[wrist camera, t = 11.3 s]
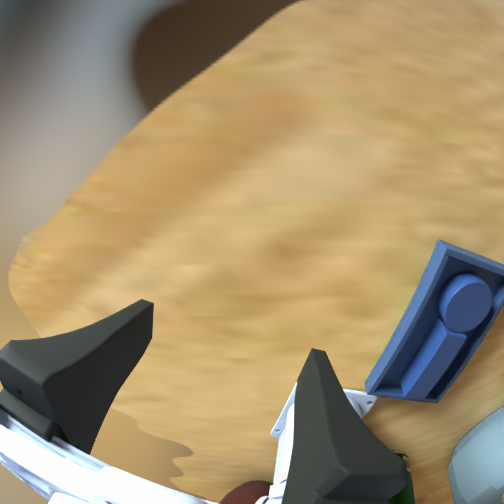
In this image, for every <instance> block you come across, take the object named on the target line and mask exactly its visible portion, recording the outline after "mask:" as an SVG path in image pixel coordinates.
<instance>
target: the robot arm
mask: <svg viewBox="0 0 504 504" xmlns="http://www.w3.org/2000/svg"><path fill="white" fill-rule="evenodd" d="M153 308H154V303H152V302H149V301H146V300H143V299H141V300H139V301H137V302H135V303H133V304H132V305H130V306H128V307H126V308H124V309H122V310H120V311H119V312H117V313H115V314H113V315H111V316H109V317H107V318H105V319H102V320H100V321H98V322H96V323H94V324H91V325H89V326H86V327H84V328H81V329H78V330H75V331H72V332H68V333H64V334H60V335H56V336H52V337H46V338H39V339H31V340H11V341H10V342H9V343H7V344H6V345H5V346H4V347H3V348H2V349H1V350H0V381H1V384H2V386H3V389H2V391H1V392H0V464H2V465H3V466H4V467H5V468H6V469H8V470H9V471H10V472H11V473H12V474H14V475H15V476H16V477H18V478H19V479H20V480H21V481H23V482H24V483H25V484H27V485H28V486H29V487H30V488H32V489H33V490H35V491H36V492H37V493H39V494H40V495H42V496H43V497H44V498H46V499H47V500H49V503H48V504H218V503H214V502H210V501H207V500H203V499H199V498H196V497H194V496H191V495H189V494H185V493H182V492H179V491H176V490H173V489H170V488H167V487H164V486H161V485H158V484H156V483H153V482H150V481H148V480H145V479H143V478H140V477H138V476H135V475H133V474H130V473H128V472H126V471H123V470H120V469H117V468H115V467H112V466H110V465H108V464H106V463H104V462H102V461H100V460H98V459H96V458H94V457H92V456H90V453H91V450H92V447H93V444H94V442H95V439H96V437H97V434H98V432H99V430H100V427H101V425H102V422H103V420H104V418H105V416H106V414H107V412H108V410H109V408H110V406H111V404H112V402H113V400H114V398H115V396H116V394H117V393H118V391H119V389H120V388H121V386H122V385H123V383H124V382H125V380H126V379H127V378H128V376H129V375H130V373H131V372H132V370H133V369H134V367H135V366H136V365H137V363H138V362H139V360H140V359H141V357H142V356H143V354H144V352H145V350H146V349H147V347H148V345H149V343H150V341H151V339H152V329H153ZM377 399H378V398H377V396H372V395H367V393H366V392H361V391H355V390H350V389H344V388H342V387H341V385H340V383H339V381H338V379H337V377H336V374H335V372H334V370H333V368H332V366H331V363H330V361H329V359H328V356H327V354H326V352H325V351H322V350H317V349H313V348H312V349H311V351H310V354H309V356H308V358H307V360H306V362H305V364H304V367H303V369H302V371H301V373H300V375H299V377H298V379H297V382H296V384H295V386H294V388H293V390H292V392H291V394H290V396H289V398H288V400H287V402H286V404H285V406H284V408H283V410H282V412H281V414H280V416H279V418H278V420H277V422H276V424H275V426H274V427H273V429H272V431H271V437H273V438H278V439H279V444H278V451H277V459H276V466H275V473H274V485H271V486H270V491H269V496H264V497H261V498H260V499H259V500H258V501H257V502H256V504H389V499H390V498H392V497H393V496H395V495H396V494H397V493H399V492H400V491H402V490H403V489H404V488H405V487H406V486H407V484H408V474H407V468H406V463H405V461H404V460H403V459H401V458H400V457H399V456H398V455H396V454H395V453H394V452H393V451H391V450H390V449H389V448H388V447H387V446H386V445H385V444H384V443H383V442H381V441H380V440H379V439H378V438H377V437H376V435H375V434H374V433H373V432H372V431H371V430H370V429H369V428H368V426H367V425H366V424H365V423H364V422H363V420H362V419H363V418H364V417H365V415H366V414H367V413H368V411H369V410H370V409H371V407H372V406H373V405H374V403H375V402H376V401H377ZM369 401H370V402H369Z"/></svg>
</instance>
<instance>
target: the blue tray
mask: <svg viewBox="0 0 504 504" xmlns="http://www.w3.org/2000/svg"><path fill="white" fill-rule="evenodd" d="M464 271H471V272H474V273H476V274H477V275H479V277H480V278H481V279H482V280H483V281H484V282H485V283H486V284H487V285H488V286H489V288H490V289H491V292H492V305H491V308H490V311H489V313H488V314H487V316H486V317H485V319H484V320H483V321H482V322H481V323H480V324H479V325H478V326H477V327H475V328H474V329H472V330H470V331H467V332H464V334H465V335H466V337H467V339H466V340H465V342H464V344H463V345H462V347H461V348H460V350H459V351H458V353H457V354H456V356H455V357H454V359H453V360H452V362H451V363H450V365H449V366H448V368H447V369H446V370H445V372H444V373H443V375H442V376H441V377H440V379H439V380H438V381H437V383H436V384H435V385H434V387H433V388H432V389H431V391H430V392H429V393H428V395H427V396H426V397H425V398H424V399H415V398H406V397H404V395H403V391H402V387H401V383H400V379H401V377H402V376H403V374H404V373H405V371H406V370H407V368H408V367H409V365H410V364H411V362H412V361H413V359H414V357H415V356H416V354H417V353H418V351H419V350H420V348H421V346H422V345H423V343H424V341H425V340H426V338H427V336H428V335H429V333H430V331H431V330H432V328H433V326H434V324H435V323H436V321H437V319H438V318H442V317H441V315H440V314H439V312H438V309H437V299H438V295H439V293H440V290H441V289H442V287H443V285H444V284H445V283H446V282H447V281H448V280H449V279H450V278H451V277H452V276H454V275H456V274H458V273H460V272H464ZM503 305H504V265H503V264H500V263H498V262H495V261H493V260H490V259H488V258H485V257H483V256H480V255H478V254H475V253H473V252H470V251H467V250H465V249H462V248H459V247H457V246H454V245H451V244H449V243H446V242H443V241H441V240H438V242H437V244H436V247H435V249H434V252H433V254H432V256H431V259H430V261H429V263H428V266H427V268H426V270H425V272H424V274H423V277H422V279H421V281H420V283H419V285H418V287H417V289H416V292H415V294H414V296H413V298H412V300H411V302H410V304H409V306H408V308H407V310H406V312H405V314H404V316H403V317H402V319H401V321H400V323H399V325H398V327H397V329H396V331H395V332H394V334H393V336H392V338H391V340H390V341H389V343H388V345H387V347H386V348H385V350H384V352H383V353H382V355H381V357H380V359H379V360H378V362H377V363H376V365H375V367H374V368H373V370H372V372H371V373H370V375H369V376H368V378H367V380H366V381H365V386H366V393H367V395H372V396H379V397H386V398H394V399H402V400H410V401H420V402H431V403H438V402H439V400H440V399H441V398H442V397H443V396H444V394H445V393H446V392H447V390H448V389H449V388H450V387H451V385H452V384H453V383H454V381H455V380H456V379H457V377H458V376H459V375H460V373H461V372H462V370H463V369H464V368H465V366H466V365H467V363H468V362H469V360H470V359H471V358H472V356H473V355H474V353H475V352H476V350H477V348H478V347H479V345H480V344H481V342H482V341H483V339H484V338H485V336H486V334H487V333H488V331H489V329H490V328H491V326H492V324H493V323H494V321H495V319H496V317H497V316H498V314H499V312H500V310H501V308H502V307H503Z"/></svg>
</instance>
